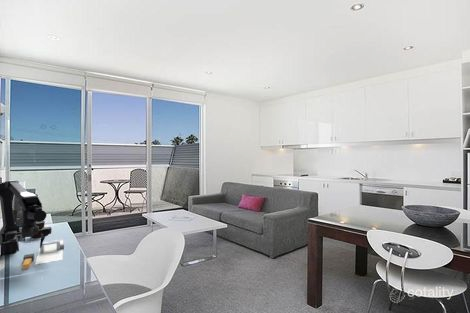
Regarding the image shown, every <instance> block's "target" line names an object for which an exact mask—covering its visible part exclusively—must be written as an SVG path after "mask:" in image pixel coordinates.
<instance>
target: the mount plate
mask: <svg viewBox="0 0 470 313" xmlns="http://www.w3.org/2000/svg"><path fill="white" fill-rule="evenodd" d="M60 244H64V239H60ZM36 256H37V257H36V260H35V261H34V262H35V263H34V266H35V265H41V264H46V263H51V262H52V263H53V262H57V261H62V260H63V259H64V258H63V256H64V249H60V250H57V243H55V244H49V245H44V253H40V247H39V249H38V252H37V255H36Z"/></svg>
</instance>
